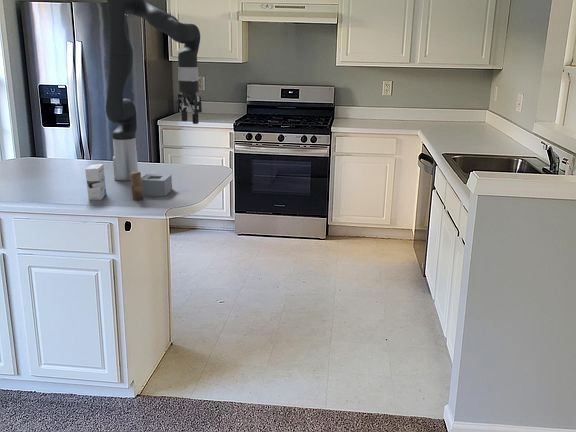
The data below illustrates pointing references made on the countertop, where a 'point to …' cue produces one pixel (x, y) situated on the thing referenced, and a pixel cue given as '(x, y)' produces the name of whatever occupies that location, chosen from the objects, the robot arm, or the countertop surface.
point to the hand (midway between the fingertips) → (190, 122)
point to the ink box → (95, 182)
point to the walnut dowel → (136, 185)
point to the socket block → (156, 184)
